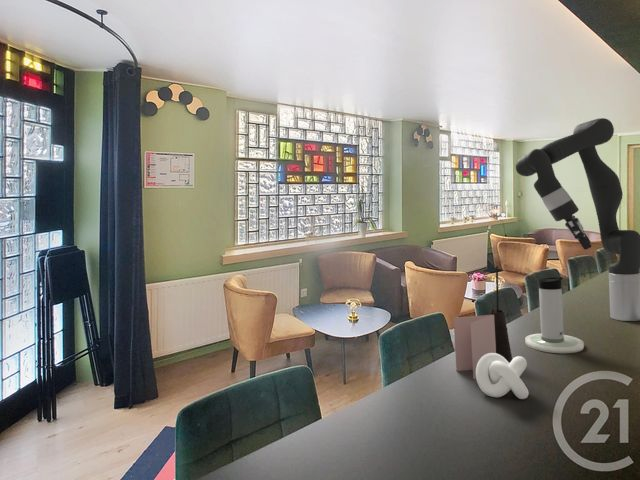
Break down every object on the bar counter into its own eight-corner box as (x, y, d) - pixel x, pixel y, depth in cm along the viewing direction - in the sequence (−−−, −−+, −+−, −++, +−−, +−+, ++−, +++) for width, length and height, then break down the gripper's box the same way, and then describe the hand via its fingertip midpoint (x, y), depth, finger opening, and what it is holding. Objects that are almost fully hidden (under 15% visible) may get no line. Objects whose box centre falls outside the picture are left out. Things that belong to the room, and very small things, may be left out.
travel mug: (568, 342, 123) (565, 278, 122) (545, 343, 124) (542, 279, 123) (560, 336, 129) (557, 275, 128) (538, 337, 130) (535, 276, 129)
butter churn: (482, 352, 124) (477, 263, 122) (516, 354, 120) (512, 262, 119) (483, 363, 115) (478, 267, 114) (520, 365, 112) (515, 266, 110)
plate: (521, 336, 136) (521, 332, 136) (575, 338, 131) (575, 333, 131) (530, 352, 121) (529, 347, 121) (591, 354, 116) (590, 349, 116)
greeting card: (495, 366, 112) (492, 313, 111) (508, 376, 105) (505, 320, 104) (455, 369, 112) (452, 317, 111) (465, 380, 104) (462, 323, 104)
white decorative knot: (546, 403, 89) (544, 364, 89) (495, 409, 88) (493, 369, 88) (517, 383, 100) (516, 348, 100) (471, 388, 100) (469, 352, 99)
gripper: (571, 199, 125) (601, 244, 122) (571, 196, 136) (599, 237, 134) (547, 212, 129) (576, 255, 126) (549, 208, 141) (576, 247, 138)
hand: (588, 246), depth 130 cm, fingers open, 8 cm apart
